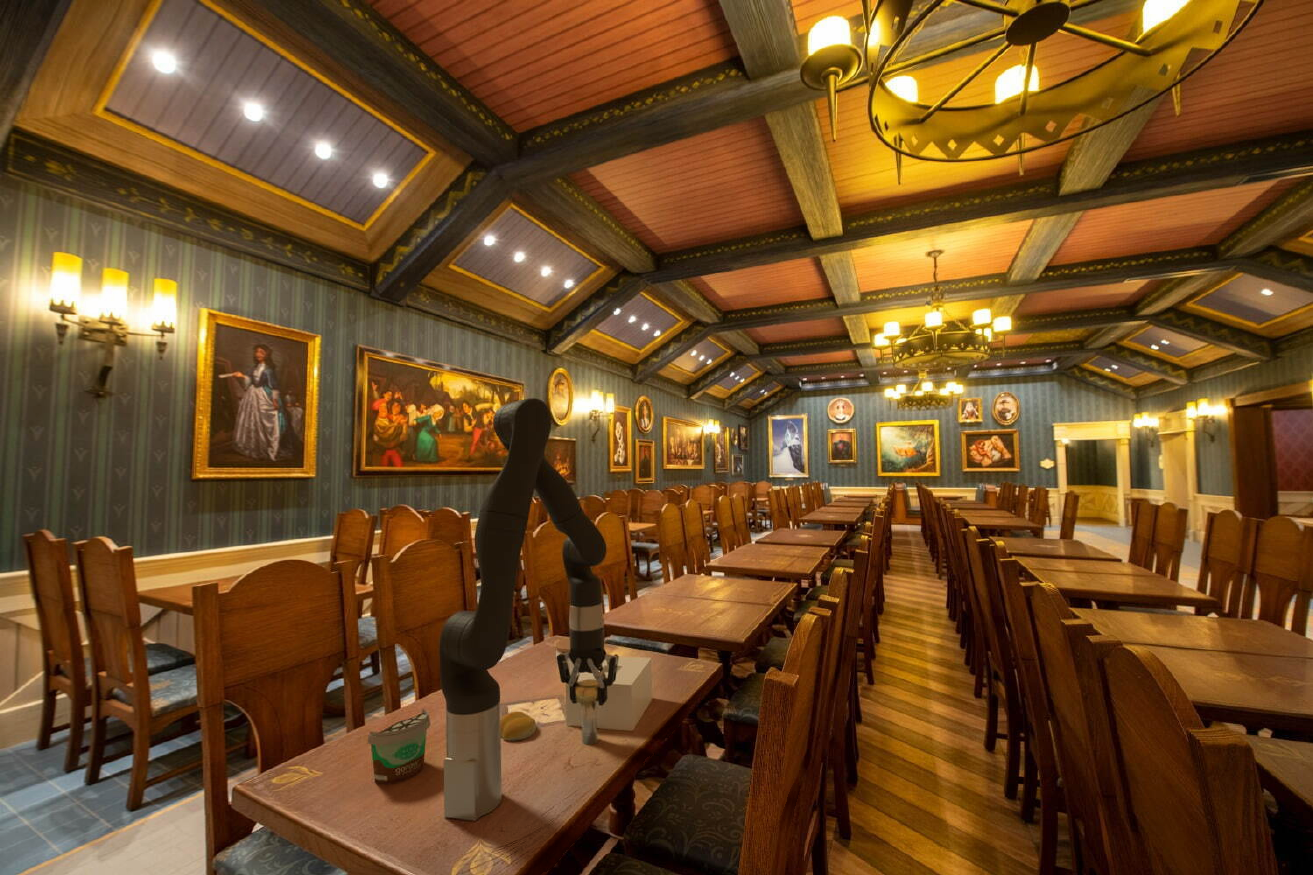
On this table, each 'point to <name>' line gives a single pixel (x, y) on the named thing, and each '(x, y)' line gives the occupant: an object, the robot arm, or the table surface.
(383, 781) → the food container
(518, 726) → the bread roll
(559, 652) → the lidded bowl
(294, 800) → the table surface
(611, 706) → the pin block
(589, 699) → the brass-head pin
